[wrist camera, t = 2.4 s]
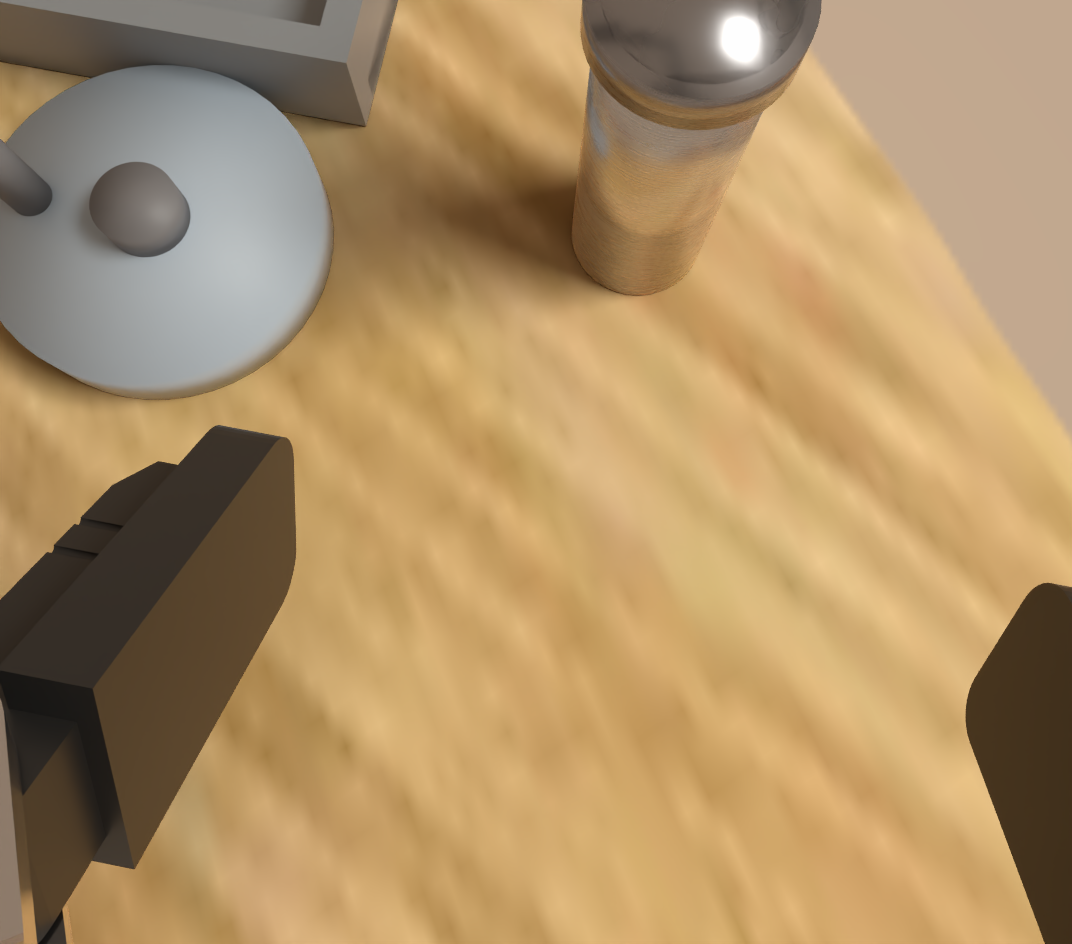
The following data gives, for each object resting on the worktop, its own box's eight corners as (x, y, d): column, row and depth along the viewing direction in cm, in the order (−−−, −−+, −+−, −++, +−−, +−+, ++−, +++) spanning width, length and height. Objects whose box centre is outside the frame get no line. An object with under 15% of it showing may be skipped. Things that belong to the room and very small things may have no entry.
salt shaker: (549, 289, 26) (564, 75, 16) (575, 154, 27) (605, -127, 17) (697, 316, 26) (805, 117, 16) (719, 180, 26) (834, -88, 17)
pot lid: (-39, 366, 25) (-195, 291, 20) (59, 71, 27) (-58, -70, 21) (289, 427, 25) (224, 369, 19) (365, 126, 27) (325, -3, 21)
